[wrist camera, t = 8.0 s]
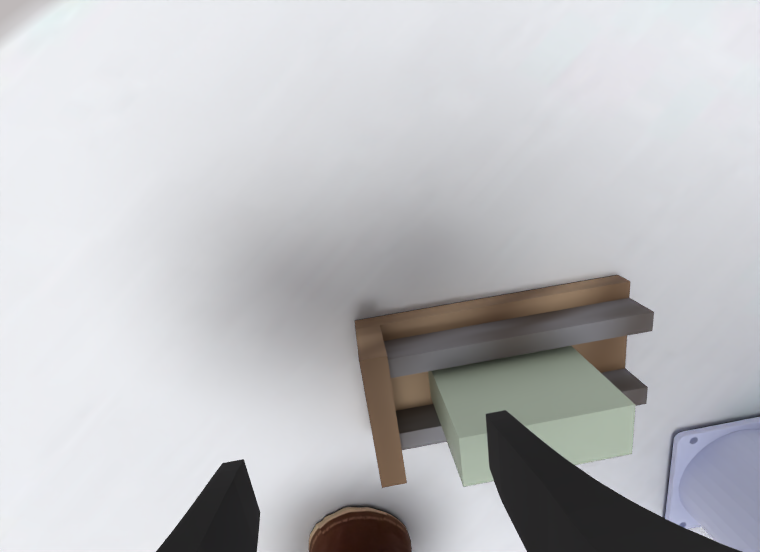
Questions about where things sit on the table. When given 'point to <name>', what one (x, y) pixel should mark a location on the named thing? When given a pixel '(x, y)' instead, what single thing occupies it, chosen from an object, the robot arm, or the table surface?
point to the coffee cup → (359, 532)
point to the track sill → (486, 352)
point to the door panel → (532, 408)
